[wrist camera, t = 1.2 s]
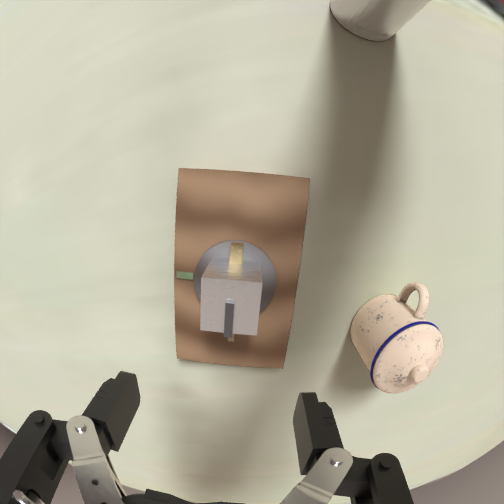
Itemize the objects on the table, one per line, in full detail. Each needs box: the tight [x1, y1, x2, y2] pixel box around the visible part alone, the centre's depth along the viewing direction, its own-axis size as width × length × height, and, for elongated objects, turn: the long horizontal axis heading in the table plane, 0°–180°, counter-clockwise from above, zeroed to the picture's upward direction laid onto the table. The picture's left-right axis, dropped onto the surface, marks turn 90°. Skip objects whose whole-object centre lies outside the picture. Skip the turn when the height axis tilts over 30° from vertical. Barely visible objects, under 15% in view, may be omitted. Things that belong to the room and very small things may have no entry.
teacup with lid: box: [351, 283, 443, 393], centre depth 26 cm, size 12×9×12 cm
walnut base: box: [174, 168, 310, 368], centre depth 29 cm, size 22×13×3 cm, turn 175°
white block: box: [200, 242, 263, 338], centre depth 25 cm, size 8×5×6 cm, turn 175°
